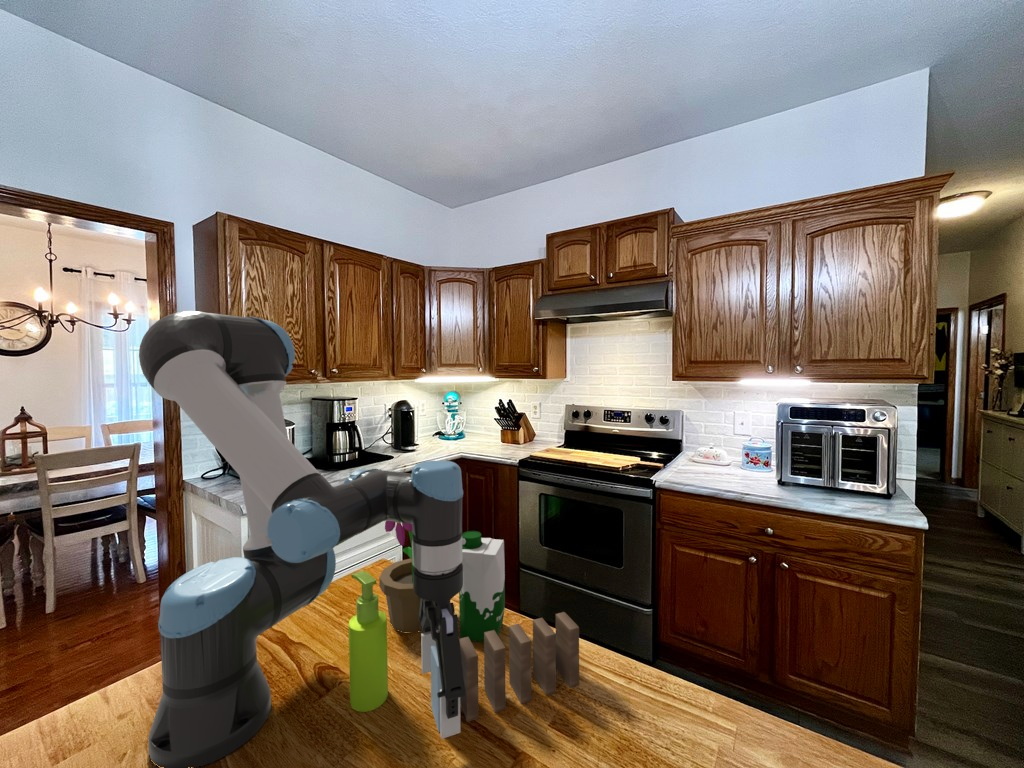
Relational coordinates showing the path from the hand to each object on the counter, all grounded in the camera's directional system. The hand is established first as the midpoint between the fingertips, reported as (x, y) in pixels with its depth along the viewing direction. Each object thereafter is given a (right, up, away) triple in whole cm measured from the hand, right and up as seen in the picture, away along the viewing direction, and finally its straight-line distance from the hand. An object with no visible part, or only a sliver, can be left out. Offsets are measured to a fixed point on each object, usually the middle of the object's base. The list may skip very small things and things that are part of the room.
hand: (439, 699), depth 66 cm
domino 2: (+4, -3, +2) cm, 5 cm away
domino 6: (+21, -2, +9) cm, 23 cm away
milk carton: (+5, -2, +22) cm, 22 cm away
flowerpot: (-10, -2, +26) cm, 28 cm away
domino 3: (+8, -3, +4) cm, 10 cm away
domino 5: (+17, -3, +7) cm, 18 cm away
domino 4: (+13, -3, +5) cm, 14 cm away
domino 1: (0, -3, 0) cm, 3 cm away
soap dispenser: (-13, -3, +5) cm, 14 cm away
